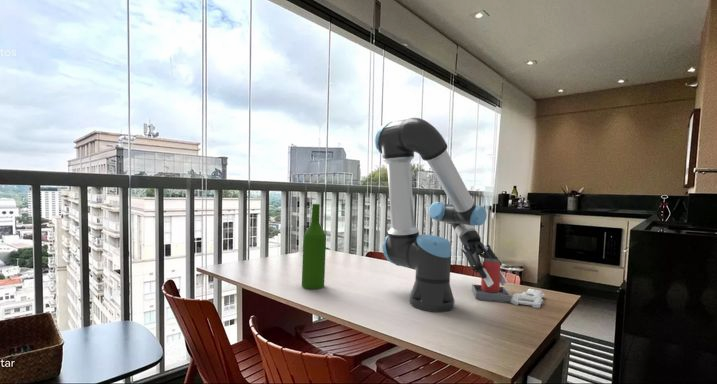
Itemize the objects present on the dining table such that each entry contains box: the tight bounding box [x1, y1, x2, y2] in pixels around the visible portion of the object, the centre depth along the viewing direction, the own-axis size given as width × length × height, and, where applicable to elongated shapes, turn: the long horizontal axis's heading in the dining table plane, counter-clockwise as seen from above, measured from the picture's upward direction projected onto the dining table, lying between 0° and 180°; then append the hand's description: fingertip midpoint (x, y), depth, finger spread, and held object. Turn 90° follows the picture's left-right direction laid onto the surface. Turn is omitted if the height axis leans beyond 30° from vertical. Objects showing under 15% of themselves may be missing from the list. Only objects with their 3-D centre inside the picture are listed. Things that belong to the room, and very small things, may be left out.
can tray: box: [471, 283, 512, 304], centre depth 130 cm, size 12×12×2 cm
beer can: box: [480, 258, 501, 293], centre depth 130 cm, size 7×7×12 cm
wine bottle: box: [301, 203, 327, 290], centre depth 135 cm, size 9×9×32 cm
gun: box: [510, 288, 546, 309], centre depth 126 cm, size 18×3×10 cm
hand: (498, 284), depth 127 cm, fingers closed on beer can, 6 cm apart
